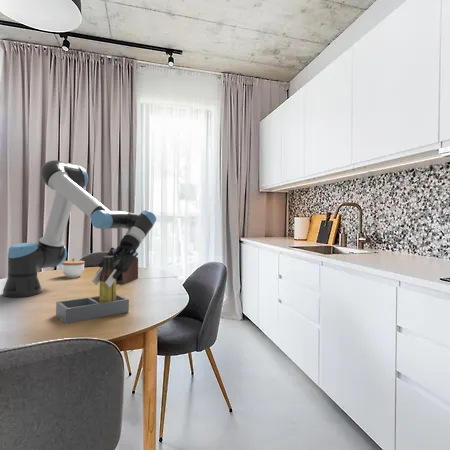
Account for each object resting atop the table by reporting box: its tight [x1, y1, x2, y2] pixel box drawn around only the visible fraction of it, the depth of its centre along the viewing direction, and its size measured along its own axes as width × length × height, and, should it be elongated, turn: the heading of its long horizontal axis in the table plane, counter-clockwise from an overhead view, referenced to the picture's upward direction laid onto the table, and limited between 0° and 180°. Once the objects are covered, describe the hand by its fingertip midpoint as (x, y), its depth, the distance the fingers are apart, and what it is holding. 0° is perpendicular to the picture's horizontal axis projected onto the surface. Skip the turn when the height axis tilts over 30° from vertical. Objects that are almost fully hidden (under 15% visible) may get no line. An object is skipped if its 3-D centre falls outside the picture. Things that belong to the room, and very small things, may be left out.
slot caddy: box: [55, 293, 130, 324], centre depth 122 cm, size 12×23×5 cm, turn 132°
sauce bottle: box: [98, 255, 117, 303], centre depth 126 cm, size 6×6×20 cm
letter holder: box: [113, 256, 139, 285], centre depth 187 cm, size 10×20×14 cm, turn 170°
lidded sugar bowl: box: [61, 258, 86, 279], centre depth 194 cm, size 13×13×11 cm
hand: (100, 283), depth 122 cm, fingers open, 6 cm apart
